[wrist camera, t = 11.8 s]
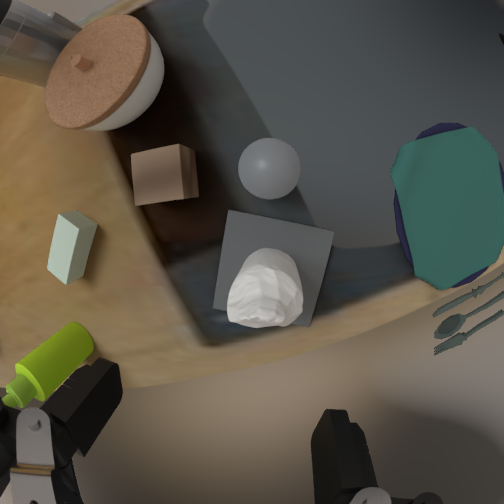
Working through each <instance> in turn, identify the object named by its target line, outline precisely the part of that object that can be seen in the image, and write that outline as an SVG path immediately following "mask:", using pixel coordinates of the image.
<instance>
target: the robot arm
mask: <svg viewBox="0 0 504 504" xmlns="http://www.w3.org/2000/svg"><path fill="white" fill-rule="evenodd" d="M81 30H83V29H82V28H81V27H79V26H77V25H76V24H74V23H73V22H71V21H69V20H68V19H66V18H65V17H63V16H61V15H60V14H58V13H56V12H50V13H48V14H45V13H43V12H41V11H39V10H37V9H35V8H33V7H31V6H29V5H27V4H25V3H23V2H21V1H19V0H0V76H4V77H9V78H12V79H16V80H20V81H24V82H27V83H31V84H34V85H38V86H41V87H43V88H46V86H47V81H48V78H49V75H50V72H51V70H52V67H53V65H54V63H55V61H56V59H57V58H58V56H59V55H60V53H61V52H62V50H63V49H64V48H65V46H66V45H67V44H68V43H69V42H70V41H71V40H72V38H73V37H75V36H76V35H77V34H78V33H79V32H80V31H81ZM122 393H123V389H122V383H121V377H120V370H119V366H118V364H117V363H114V362H111V361H109V360H106V359H104V358H101V357H100V358H98V359H97V360H96V361H95V362H94V363H93V364H92V365H91V366H89V365H85V366H83V367H81V368H79V369H76V370H75V371H74V373H73V374H72V375H71V376H70V377H69V379H67V380H66V381H65V382H64V383H63V385H61V386H60V387H59V388H58V389H57V391H56V392H55V393H54V394H53V395H52V396H51V397H50V398H49V399H48V401H46V402H45V404H44V405H43V406H42V407H41V408H39V409H38V408H27V409H24V410H23V411H20V410H17V409H14V408H12V407H9V406H7V405H5V404H4V402H3V400H2V399H1V397H0V497H1V495H2V494H3V491H4V490H5V488H6V487H7V485H8V484H9V482H10V480H11V489H12V496H13V502H14V504H84V502H83V500H82V498H81V494H80V490H79V487H78V483H77V479H76V475H75V470H74V465H73V460H72V457H73V455H74V453H77V454H79V455H81V456H82V457H85V456H86V454H87V452H88V451H89V449H90V448H91V446H92V445H93V443H94V441H95V440H96V438H97V437H98V435H99V434H100V432H101V431H102V429H103V428H104V426H105V424H106V423H107V422H108V420H109V418H110V417H111V415H112V414H113V412H114V411H115V409H116V408H117V406H118V405H119V403H120V401H121V399H122ZM366 444H367V442H366V438H365V435H364V432H363V430H362V429H361V428H360V427H359V425H358V424H357V423H350V421H349V417H348V413H347V411H346V410H336V409H335V410H334V409H326V410H325V411H324V413H323V415H322V417H321V419H320V421H319V422H318V424H317V426H316V428H315V430H314V432H313V434H312V439H311V453H312V466H313V482H314V499H315V504H443V502H442V500H441V498H440V497H439V496H438V495H436V494H434V493H430V492H426V493H423V494H420V495H419V496H417V497H416V498H415V499H403V498H393V497H390V496H389V495H388V493H386V492H385V491H384V490H382V489H380V488H379V487H378V485H377V481H376V477H375V473H374V469H373V465H372V461H371V457H370V454H369V449H368V446H367V445H366Z"/></svg>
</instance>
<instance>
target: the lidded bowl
mask: <svg viewBox="0 0 504 504" xmlns="http://www.w3.org/2000/svg"><path fill="white" fill-rule="evenodd" d="M163 77H164V61H163V57H162V54H161V51H160V48H159V46H158V45H157V43H156V41H155V40H154V38H153V37H152V36H151V34H150V33H149V32H148V30H147V29H146V27H145V26H144V25H143V24H142V23H141V22H140V21H139V20H138V19H137V18H135V17H133V16H129V15H112V16H108V17H105V18H102V19H100V20H97V21H95V22H93V23H92V24H90V25H88V26H87V27H85V28H84V29H83V30H81V31H80V32H79V33H78V34H77V35H76V36H75V37H73V38H72V40H71V41H70V42H69V43H68V44H67V45H66V46H65V48H64V49H63V50H62V52H61V53H60V55H59V56H58V58H57V59H56V61H55V63H54V65H53V67H52V70H51V72H50V75H49V78H48V81H47V86H46V93H45V101H46V108H47V111H48V114H49V116H50V118H51V119H52V120H53V122H54V123H55V124H57V125H58V126H60V127H63V128H66V129H74V130H85V131H107V130H113V129H116V128H119V127H122V126H124V125H127V124H129V123H130V122H132V121H134V120H135V119H137V118H138V117H139V116H140V115H142V114H143V113H144V112H145V111H146V110H147V109H148V108H149V106H150V105H151V104H152V103H153V101H154V100H155V98H156V96H157V94H158V92H159V90H160V88H161V85H162V82H163Z"/></svg>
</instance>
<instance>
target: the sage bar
mask: <svg viewBox="0 0 504 504" xmlns="http://www.w3.org/2000/svg"><path fill="white" fill-rule="evenodd" d="M97 225H98V224H97V223H96V222H94V221H93V220H91V219H90V218H88V217H87V216H85V215H84V214H82V213H81V212H80V211H78V210H76V211H70V212H65V213H60V214H58V218H57V222H56V226H55V230H54V235H53V240H52V244H51V250H50V255H49V261H48V267H47V269H48V270H49V271H50V272H51V273H53V274H54V275H55V276H56V277H57V278H58V279H60V280H61V281H62V282H63V283H64V284H66V285H67V284H69V283H71V282H73V281H75V280H77V279H78V278H80V277H82V276H83V275H84V271H85V267H86V263H87V259H88V255H89V252H90V248H91V245H92V241H93V238H94V235H95V231H96V228H97Z"/></svg>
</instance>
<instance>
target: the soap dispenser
mask: <svg viewBox="0 0 504 504" xmlns="http://www.w3.org/2000/svg"><path fill="white" fill-rule="evenodd" d="M93 350H94V344H93V340H92V338H91V336H90V334H89V333H88V331H87V330H86V329H85V328H84V327H83V326H81V325H80V324H78V323H76V322H70V323H69V324H67V325H66V326H65V327H63V328H62V329H61V330H59V331H58V332H57V333H55V334H54V335H53V336H51V337H50V338H49V339H47V340H46V341H45V342H43V343H42V344H41V345H39V346H38V347H37V348H36V349H34V350H33V351H32V352H30V353H29V354H28V355H27V356H25V357H24V358H23V359H22V360H20V361H19V362H18V363H17V364H16V365H15V370H16V374H17V377H15V378H14V379H13V380H12V381H11V382H10V383H8V384H7V385H6V390H7V395H6V396H5V397H4V398H2V400H3V402H4V404H5V405H7V406H9V407H12V408H14V407H15V406H16V405H17V406H19V407H21V408H23V407H24V406H26V404H28V403H29V402H30V401H31V400H32V399H33V398H34V397H35V398H36V399H38V400H40V401H44V400H45V399H46V398H47V397H48V396H49V395H50V394H51V393H52V392H53V391H54V390H55V389H56V388H57V387H58V386H59V385H60V384H61V383H62V382H63V381H64V380H65V379H66V378H67V377H68V376H69V375H70V374H71V373H72V372H73V371H74V370H75V369H76V368H77V367H78V366H79V365H80V364H81V363H82V362H83V361H84V360H85V359H86V358H87V357H88V356H89V355H90V354H91V353H92V352H93Z"/></svg>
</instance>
